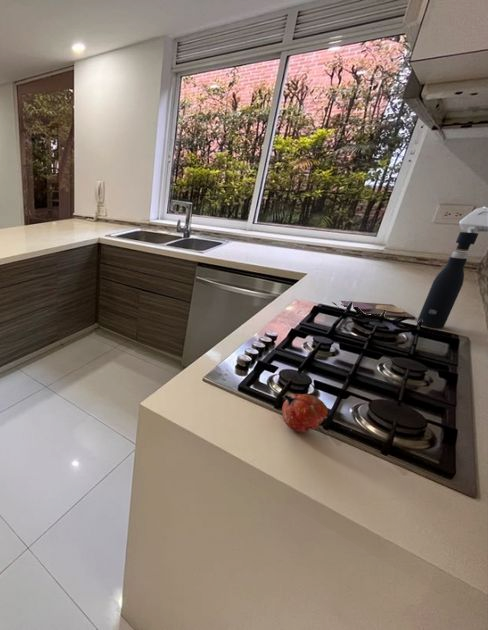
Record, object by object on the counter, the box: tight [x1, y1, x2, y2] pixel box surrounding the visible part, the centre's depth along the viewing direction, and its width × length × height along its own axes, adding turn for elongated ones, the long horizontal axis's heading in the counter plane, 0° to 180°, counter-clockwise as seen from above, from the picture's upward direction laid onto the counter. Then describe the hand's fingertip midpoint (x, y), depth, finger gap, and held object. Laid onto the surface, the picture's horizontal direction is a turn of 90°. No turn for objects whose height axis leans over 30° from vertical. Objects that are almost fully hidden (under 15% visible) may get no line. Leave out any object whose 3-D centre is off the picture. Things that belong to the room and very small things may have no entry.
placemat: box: [340, 300, 416, 320], centre depth 127 cm, size 20×14×1 cm
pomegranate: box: [281, 393, 329, 436], centre depth 64 cm, size 7×7×10 cm
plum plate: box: [341, 300, 372, 311], centre depth 128 cm, size 9×9×1 cm
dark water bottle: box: [416, 231, 479, 329], centre depth 108 cm, size 6×6×30 cm
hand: (486, 241), depth 105 cm, fingers open, 8 cm apart
